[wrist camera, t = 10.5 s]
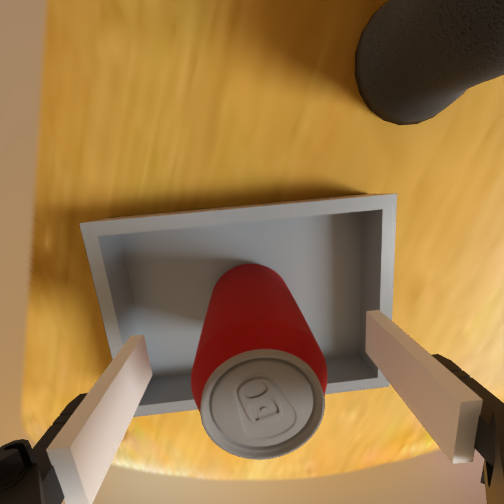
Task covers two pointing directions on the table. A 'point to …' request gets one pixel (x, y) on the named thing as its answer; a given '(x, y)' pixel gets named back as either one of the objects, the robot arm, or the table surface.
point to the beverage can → (257, 367)
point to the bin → (238, 253)
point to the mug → (427, 55)
